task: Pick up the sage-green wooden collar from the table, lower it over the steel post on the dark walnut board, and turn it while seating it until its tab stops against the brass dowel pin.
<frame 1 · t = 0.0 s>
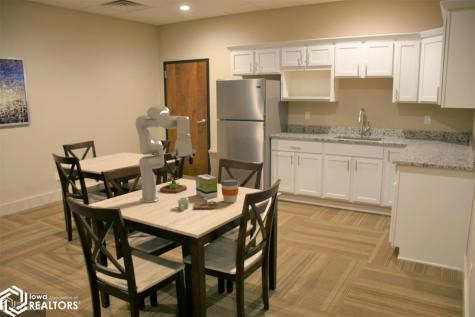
hand: (184, 165, 229), 31 cm above the table, tool pointing down, fingers open, 9 cm apart
post board: (205, 206, 251), on the table
collar: (182, 210, 244), on the table
plant: (173, 190, 296), on the table
reusable coffee cup: (230, 201, 264), on the table
dowel pin: (212, 207, 249), resting on post board
tea box: (206, 196, 278), on the table
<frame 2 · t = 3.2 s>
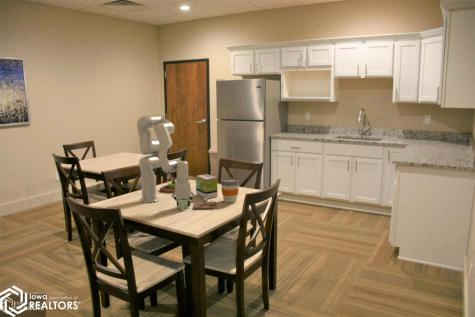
hand: (183, 206, 249), 1 cm above the table, tool pointing down, fingers closed on collar, 6 cm apart
collar: (182, 210, 244), on the table, touching gripper
everything else where it was.
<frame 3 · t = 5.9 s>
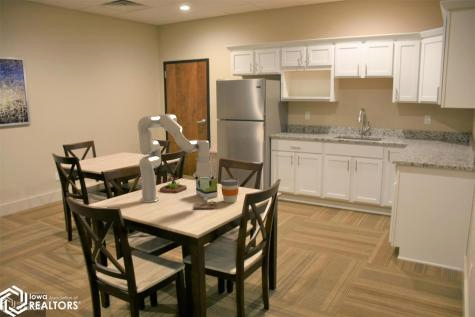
hand: (204, 186, 249), 14 cm above the table, tool pointing down, fingers closed on collar, 6 cm apart
collar: (204, 189, 244), point 13 cm above the table, touching gripper
everything else where it was.
when the fingers open (2 cm above the table, at t = 8.9 s): collar stays where it is, resting on post board.
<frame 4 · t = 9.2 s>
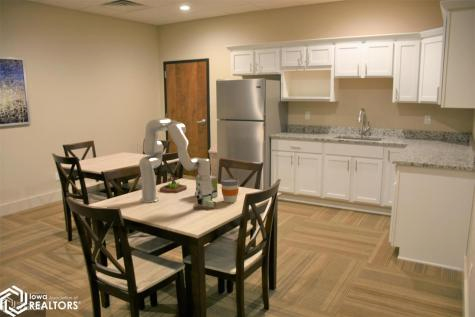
hand: (204, 202, 251), 3 cm above the table, tool pointing down, fingers open, 9 cm apart
collar: (210, 206, 247), point 1 cm above the table, touching post board
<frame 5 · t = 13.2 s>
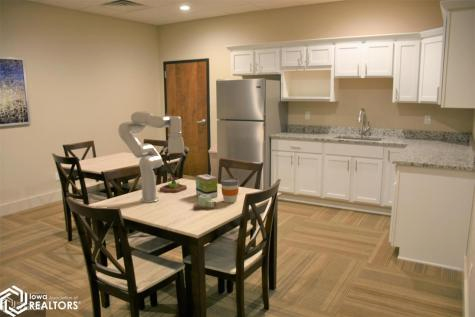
hand: (176, 161, 249), 30 cm above the table, tool pointing down, fingers open, 9 cm apart
at the end: collar 0.4 cm from the target spot on the post board, point 1.2 cm above the post board's base; collar point 1.2 cm above the table; the gripper is holding nothing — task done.
